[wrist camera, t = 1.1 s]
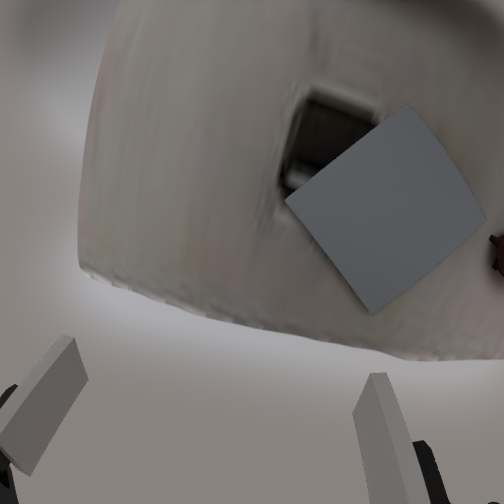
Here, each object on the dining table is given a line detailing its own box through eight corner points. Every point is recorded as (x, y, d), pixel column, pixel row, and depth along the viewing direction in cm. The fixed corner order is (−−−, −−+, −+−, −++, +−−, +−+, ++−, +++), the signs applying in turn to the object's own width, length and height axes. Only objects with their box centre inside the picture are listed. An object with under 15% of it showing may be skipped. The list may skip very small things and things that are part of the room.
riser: (400, 110, 29) (408, 101, 26) (474, 217, 29) (487, 219, 26) (287, 200, 34) (284, 200, 31) (367, 305, 34) (371, 315, 31)
